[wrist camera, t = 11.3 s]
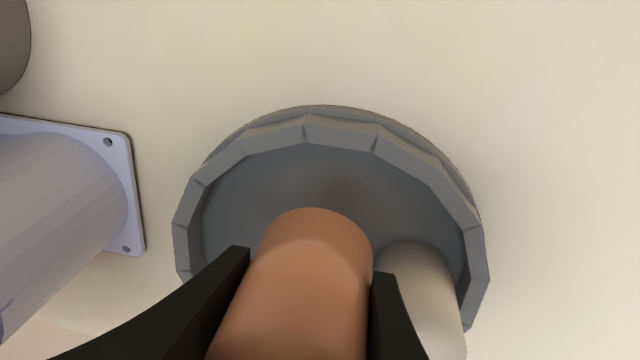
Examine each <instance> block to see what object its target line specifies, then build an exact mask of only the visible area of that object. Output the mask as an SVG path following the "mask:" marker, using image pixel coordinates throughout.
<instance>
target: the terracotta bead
mask: <svg viewBox="0 0 640 360" xmlns="http://www.w3.org/2000/svg"><path fill="white" fill-rule="evenodd" d="M372 265H373V253H372V248H371V245H370V243H369V240H368V239H367V237H366V235H365V234H364V232H363V231H362V230H361V229H360V228H359V227H358V226H357V225H356V224H355V223H354V222H352V221H351V220H350V219H348V218H346V217H345V216H343V215H341V214H339V213H337V212H334V211H331V210H327V209H323V208H315V207H304V208H297V209H293V210H290V211H287V212H285V213H283V214H281V215H279V216H278V217H277V218H275V219H274V220H273V221H272V222H271V223H270V224H269V226H268V227H267V229H266V231H265V233H264V235H263V237H262V239H261V241H260V243H259V245H258V247H257V249H256V251H255V253H254V255H253V257H252V260H251V262H250V264H249V266H248V268H247V270H246V272H245V274H244V276H243V278H242V280H241V282H240V284H239V286H238V288H237V291H236V293H235V295H234V297H233V299H232V301H231V303H230V305H229V307H228V309H227V311H226V313H225V315H224V317H223V320H222V322H221V324H220V326H219V328H218V330H217V332H216V334H215V336H214V338H213V340H212V342H211V344H210V346H209V348H208V351H207V353H206V355H205V359H204V360H366V351H367V337H368V323H369V306H370V291H371V279H372Z"/></svg>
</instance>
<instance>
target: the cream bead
mask: <svg viewBox="0 0 640 360" xmlns="http://www.w3.org/2000/svg"><path fill="white" fill-rule="evenodd" d="M374 270H375V271H380V272H386V273H391V274H394V275H395V277H396V278H397V283H398V286H399V289H400V293H401V296H402V298H403V301H404V304H405V307H406V309H407V312H408V314H409V317H410V319H411V321H412V324H413V326H414V328H415V330H416V333H417V335H418V337H419V339H420V341H421V343H422V345H423V347H424V349H425V351H426V353H427V355H428V357H429V359H430V360H466V357H467V348H466V343H465V338H464V333H463V328H462V323H461V318H460V313H459V308H458V303H457V298H456V293H455V288H454V283H453V278H452V273H451V268H450V264H449V261H448V259H447V258H446V256H445V255H444V254H443V252H442V251H440V250H439V249H438V248H436V247H435V246H433V245H431V244H429V243H426V242H422V241H417V240H403V241H398V242H395V243H392V244H390V245H388V246H386V247H385V248H383V249H382V250H381V251H380V252H379V253H378V254H377V256H376V257H375V259H374V262H373V266H372V279H373V274H374ZM372 279H371V283H372Z"/></svg>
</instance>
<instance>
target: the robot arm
mask: <svg viewBox="0 0 640 360" xmlns="http://www.w3.org/2000/svg"><path fill="white" fill-rule="evenodd" d="M108 138H110V139H111V140H112V143H113V144H112V143H110V142H109V140H108ZM127 246H128V247H129V248H128V247H127ZM101 250H103V251H108V252H114V253H119V254H124V255H129V256H135V257H139V256H141V255H142V254H143V253H144V252H145V244H144V237H143V230H142V223H141V216H140V209H139V202H138V195H137V188H136V182H135V175H134V168H133V161H132V154H131V147H130V142H129V139H128V138H127V136H126V135H124V134H123V133H120V132H114V131H108V130H102V129H95V128H89V127H83V126H76V125H70V124H64V123H57V122H51V121H45V120H39V119H32V118H26V117H20V116H13V115H7V114H1V113H0V346H1V345H2V344H3V343H4V342H5V341H6V340H7V339H8V338H9V337H10V336H11V335H12V334H13V333H15V331H17V330H18V329H19V328H20V327H21V326H22V325H23V324H24V323H25V322H26V321H27V320H28V319H29V318H30V317H31V316H32V315H33V314H35V313H36V312H37V311H38V310H39V309H40V308H41V307H42V306H43V305H44V304H45V303H46V302H47V301H48V300H49V299H50V298H51V297H52V296H53V295H55V294H56V293H57V292H58V291H59V290H60V289H61V288H62V287H63V286H64V285H65V284H66V283H67V282H68V281H69V280H70V279H71V278H72V277H74V276H75V275H76V274H77V273H78V272H79V271H80V270H81V269H82V268H83V267H84V266H85V265H86V264H87V263H88V262H89V261H90V260H91V259H92V258H94V257H95V256H96V255H97V254H98V253H99V252H100V251H101ZM249 264H250V248H249V247H243V246H238V245H231V246H230V247H228V248H227V249H226V250H225V251H224V252H223V253H221V254H220V255H219V256H218V257H217V258H216V259H214V260H213V261H212V262H211V263H210V264H208V265H207V266H206V267H205V268H204V269H202V270H201V271H200V272H199V273H197V274H196V275H195V276H193V277H192V278H191V279H190V280H188V281H187V282H186V283H185V284H183V285H182V286H181V287H179V288H178V289H176V290H175V291H174V292H172V293H171V294H169V295H168V296H167V297H165V298H164V299H162V300H161V301H159V302H158V303H156V304H155V305H153V306H152V307H150V308H149V309H147V310H146V311H144V312H142V313H141V314H139V315H137V316H136V317H134V318H132V319H131V320H129V321H127V322H125V323H124V324H122V325H120V326H118V327H116V328H114V329H112V330H110V331H108V332H106V333H104V334H103V335H101V336H99V337H97V338H95V339H93V340H91V341H89V342H86V343H84V344H82V345H80V346H78V347H76V348H73V349H71V350H69V351H66V352H64V353H62V354H59V355H57V356H55V357H52V358H50V359H47V360H204V359H205V355H206V353H207V351H208V348H209V346H210V344H211V342H212V340H213V338H214V336H215V334H216V332H217V330H218V328H219V326H220V324H221V322H222V320H223V317H224V315H225V313H226V311H227V309H228V307H229V305H230V303H231V301H232V299H233V297H234V295H235V293H236V291H237V288H238V286H239V284H240V282H241V280H242V278H243V276H244V274H245V272H246V270H247V268H248V266H249ZM366 360H430V359H429V357H428V355H427V353H426V351H425V349H424V347H423V345H422V343H421V341H420V339H419V337H418V335H417V333H416V330H415V328H414V326H413V324H412V321H411V319H410V317H409V314H408V312H407V309H406V307H405V304H404V301H403V298H402V296H401V293H400V289H399V286H398V283H397V278H396V277H395V275H394V274H391V273H386V272H380V271H375V270H374V274H373V279H372V283H371V291H370V306H369V323H368V337H367V351H366Z"/></svg>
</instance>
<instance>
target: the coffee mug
mask: <svg viewBox="0 0 640 360" xmlns="http://www.w3.org/2000/svg"><path fill="white" fill-rule="evenodd" d="M30 45H31V36H30V23H29V17H28V12H27V8H26V4H25V0H0V95H1V94H3V93H5V92H6V91H8V90H9V89H10V88H12V87H13V86H14V85H15V84H16V83H17V82H18V81H19V79H20V78H21V76H22V75H23V73H24V70H25V68H26V65H27V62H28V59H29V54H30Z"/></svg>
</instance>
